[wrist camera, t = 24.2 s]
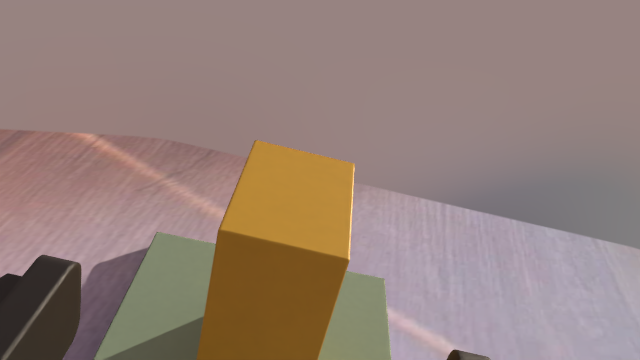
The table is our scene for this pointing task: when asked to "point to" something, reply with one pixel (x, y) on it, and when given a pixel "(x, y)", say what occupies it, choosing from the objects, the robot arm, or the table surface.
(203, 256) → the mat
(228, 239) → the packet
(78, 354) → the table surface
